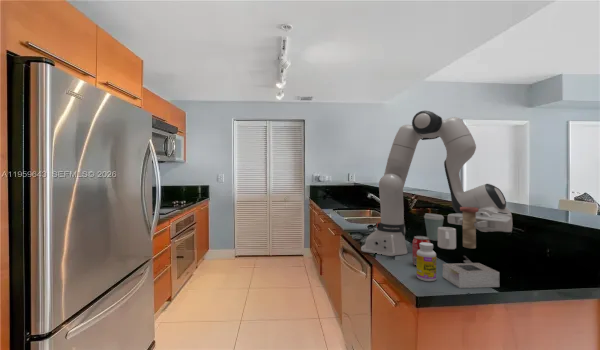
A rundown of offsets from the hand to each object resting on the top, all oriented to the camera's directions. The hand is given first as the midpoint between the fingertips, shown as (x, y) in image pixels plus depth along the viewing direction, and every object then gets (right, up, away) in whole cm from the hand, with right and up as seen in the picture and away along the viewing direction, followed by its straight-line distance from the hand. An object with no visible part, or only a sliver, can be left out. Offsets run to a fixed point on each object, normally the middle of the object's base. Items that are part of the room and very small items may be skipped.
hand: (467, 223), depth 98 cm
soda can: (-8, -21, +18) cm, 29 cm away
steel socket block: (+1, -21, 0) cm, 21 cm away
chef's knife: (+13, -21, +22) cm, 33 cm away
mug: (+17, -21, +46) cm, 53 cm away
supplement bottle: (-13, -21, +4) cm, 25 cm away
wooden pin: (+1, -8, +1) cm, 8 cm away
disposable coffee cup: (+19, -21, +65) cm, 71 cm away
